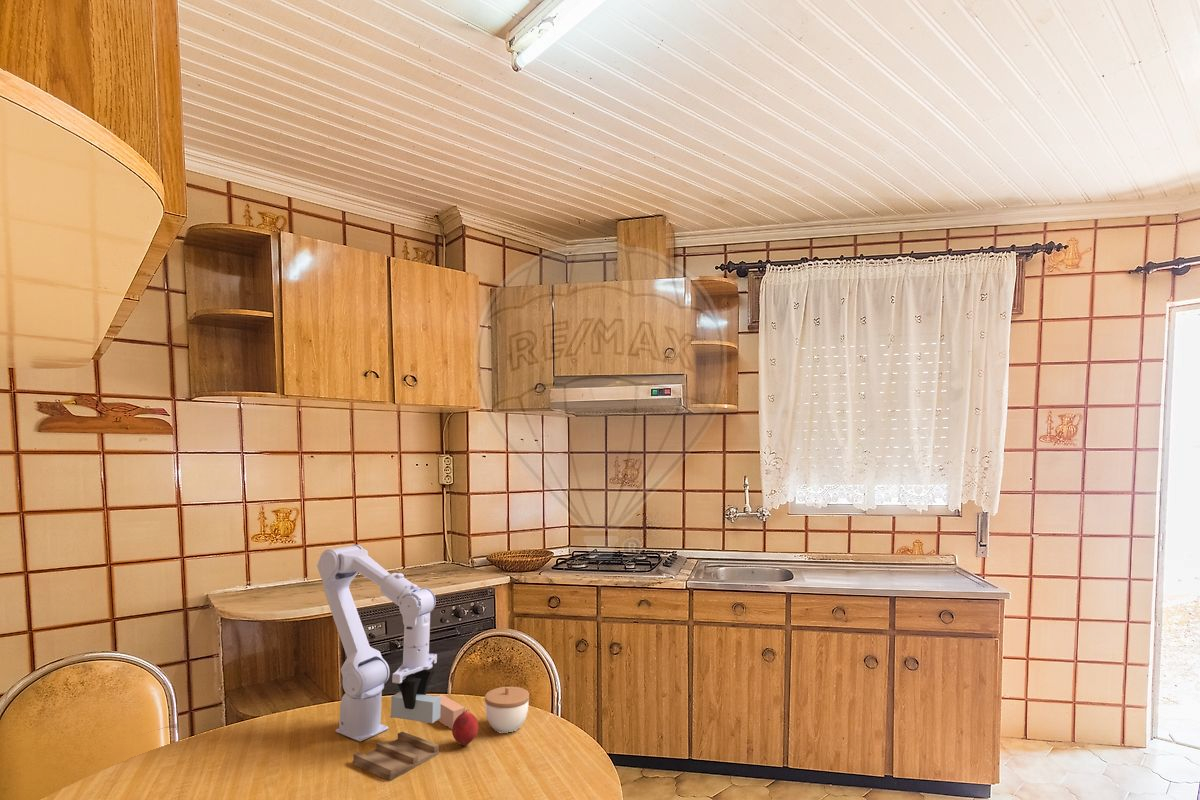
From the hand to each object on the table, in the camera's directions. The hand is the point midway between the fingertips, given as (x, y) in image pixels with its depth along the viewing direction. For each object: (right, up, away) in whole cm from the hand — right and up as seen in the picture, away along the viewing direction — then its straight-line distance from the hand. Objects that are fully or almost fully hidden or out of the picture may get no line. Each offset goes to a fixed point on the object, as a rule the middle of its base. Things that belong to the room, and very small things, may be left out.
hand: (414, 705), depth 137 cm
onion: (+12, -9, -2) cm, 15 cm away
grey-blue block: (0, -3, 0) cm, 3 cm away
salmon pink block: (+5, -10, +11) cm, 16 cm away
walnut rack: (-1, -8, -8) cm, 11 cm away
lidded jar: (+20, -10, +7) cm, 23 cm away
